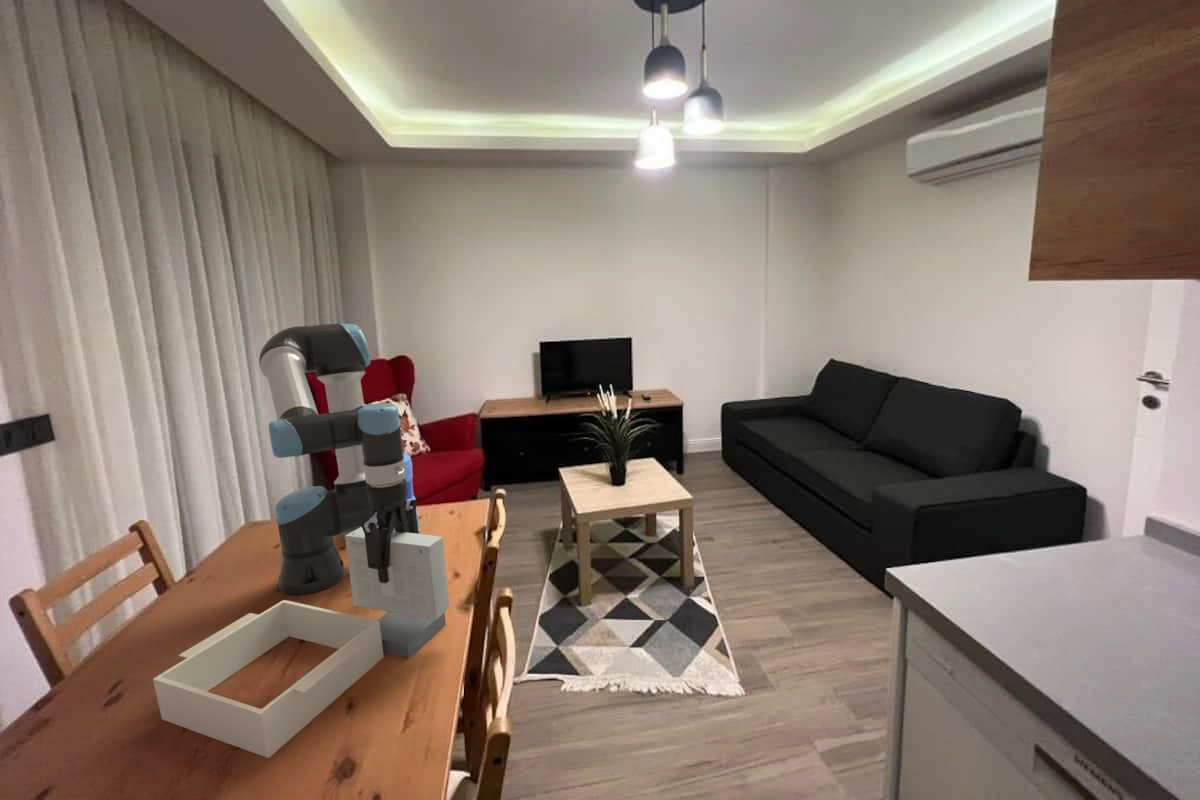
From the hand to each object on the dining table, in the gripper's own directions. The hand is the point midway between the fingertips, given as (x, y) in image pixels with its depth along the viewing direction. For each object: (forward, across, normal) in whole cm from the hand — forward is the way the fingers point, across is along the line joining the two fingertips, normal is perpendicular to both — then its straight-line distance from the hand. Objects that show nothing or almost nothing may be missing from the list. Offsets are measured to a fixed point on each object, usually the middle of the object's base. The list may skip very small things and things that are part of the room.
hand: (399, 587), depth 115 cm
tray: (+11, -20, +12) cm, 26 cm away
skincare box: (+5, 0, 0) cm, 5 cm away
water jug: (+11, +47, +44) cm, 65 cm away
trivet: (+11, 0, 0) cm, 11 cm away
